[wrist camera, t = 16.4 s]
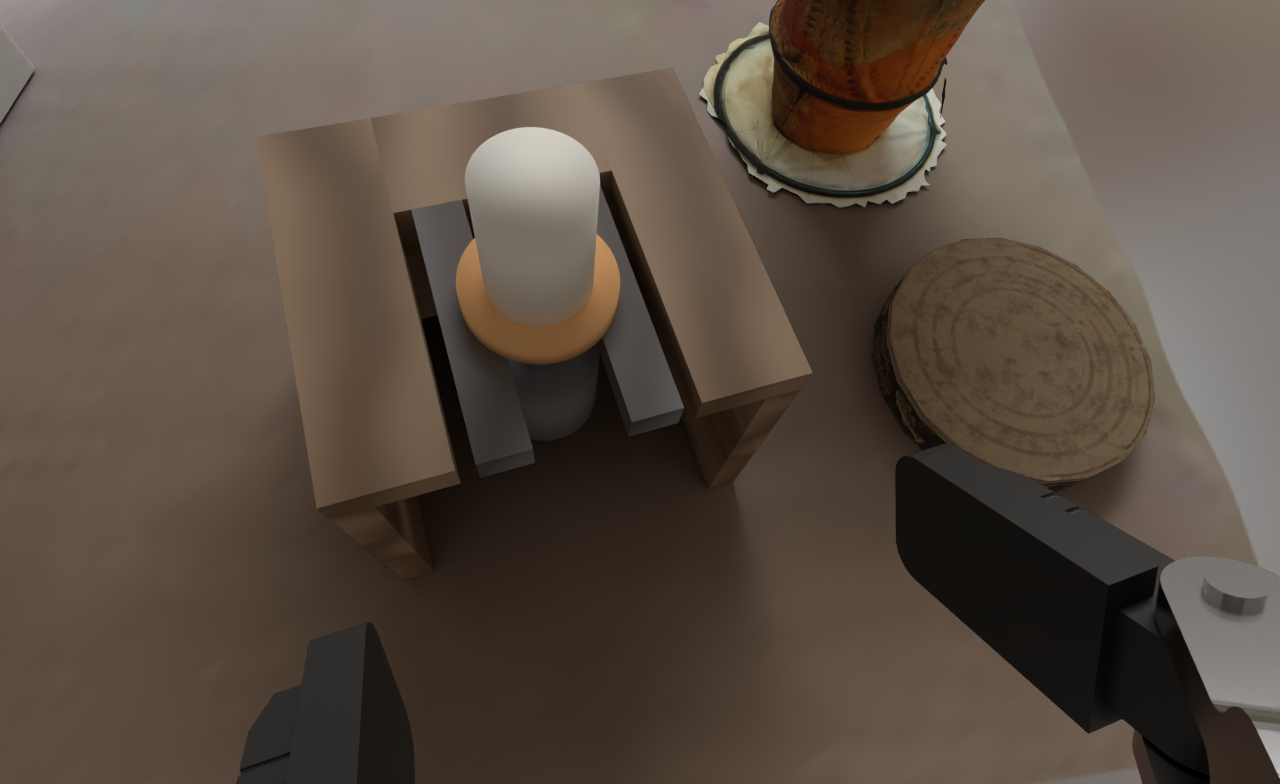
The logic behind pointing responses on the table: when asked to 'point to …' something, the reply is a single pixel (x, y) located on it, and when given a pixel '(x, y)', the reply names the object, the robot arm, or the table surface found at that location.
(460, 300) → the cylinder with orange collar
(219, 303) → the table surface
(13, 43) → the milk carton
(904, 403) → the wood slice
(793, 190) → the decorative vase
